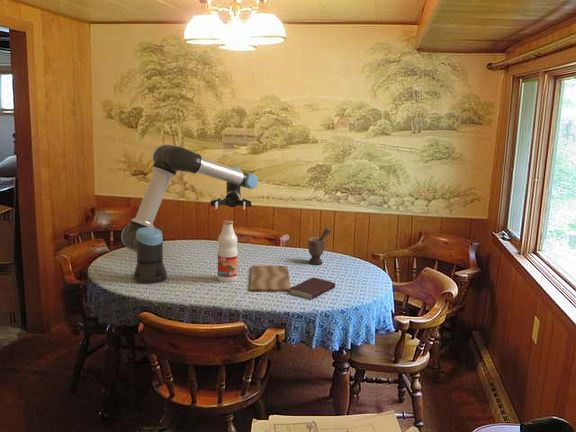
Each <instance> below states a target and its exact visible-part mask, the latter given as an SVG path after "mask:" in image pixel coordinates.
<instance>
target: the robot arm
mask: <svg viewBox="0 0 576 432" xmlns="http://www.w3.org/2000/svg"><path fill="white" fill-rule="evenodd" d="M152 160H153V164H152V170H153V173H152V175H151V178H150V180H149V183H148V185H147V188H146V191H145V193H144V196H143V198H142V200H141V203H140V205H139V208H138V211H137V213H136V216H135V217H134V218H132V219H130V222H129V224H128V225H127V226H125V227H124V228H123V230H122V231H121V235H120V236H121V238H120V239H121V241H122V244H123V245H124V246H125V247H126V248H127V249H129V250H131V251H133V252H134V253H136V267H135V269H134V273H133V280H136V281H138V282H137V283H139V282H144V283H143V284H157V283H161V282H164V281H165V279H166V280H167V279H168V272H167V269H166V266H165V264H164V260H163V259H164V257H163V256H164V255H163V254H164V253H163V252H164V249H163V248H164V247H163V245H164V244H163V241H164V238H163V233H162V230H160V229H159V228H157V227H155V225H154V222H155V219H156V216H157V214H158V211H159V209H160V206H161V205H162V201H163V199H164V197H165V194H166V191H167V189H168V186H169V183H170V181H171V179H172V178H174V177H175V176H176V174H177V172H186V173H191V174H197V173H198V174H201V175H203V176H204V175H205V176H206V177H207V176H208V177H210V178H213V179H217V180H221V181H223V182H226V187H225V188H226V191H225V192H226V195H225V198H223V199H222V198H220V197H218V198H216V199H213V200H210V207H213V209H215V210H217V209H218V206H219V207H220V206H227V207H229V208H235V207H239V206H241V207H242V208H243V210H246V208H249V207H252V200H249V199H246V198H241V194H242V193H241V188H246V189H255V188H256V187H257V185H258V183H259V179H258V176H257V175H255V174H253V173H248V172H246V171H242V170H241V168H240V166H227V165H225V164H222V163H219V162H216V161H213V160H211V159H208V158H204V157H202V155H201V154H199V153H196V152H194V151H191V150H189V149H187V148H185V147H182V146H178V145H171V144H161V145H160V146H157V147H156V148H155V150H154V152H153V153H152ZM136 281H135V282H136Z"/></svg>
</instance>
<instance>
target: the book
mask: <svg viewBox="0 0 576 432" xmlns="http://www.w3.org/2000/svg"><path fill="white" fill-rule="evenodd" d="M333 288H334V289H336V283H335V282H332V281H329V280H327V279H321V278H318V277H311V278H308V279H306V280H305V281H302V282H300V283H298V284H296V285H293V286H292V287H291V288H290V292H289V293H291V294H290V295H294V294H295V296H298V295H299V296H298V297H302V296H303V297H302V298H306V297H307V299H310V298H312V299H311V300H314V299H317V298H318V297H320V296H322V295H324V294H326V293H328V292H329V290H330V291H332V290H334V289H333ZM331 289H332V290H331ZM327 291H328V292H327ZM325 292H326V293H325ZM323 293H324V294H323ZM321 294H322V295H321Z"/></svg>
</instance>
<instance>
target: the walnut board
mask: <svg viewBox="0 0 576 432" xmlns="http://www.w3.org/2000/svg"><path fill="white" fill-rule="evenodd" d="M290 288H291V280H290V274H289V268H288V265H251V275H250V290H249V291H250V292H252V293H253V292H255V293H256V292H257V293H259V292H260V293H262V292H263V293H264V292H268V293H269V292H270V293H274V292H275V293H278V292H280V293H282V292H283V293H290Z"/></svg>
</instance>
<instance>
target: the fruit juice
mask: <svg viewBox="0 0 576 432" xmlns="http://www.w3.org/2000/svg"><path fill="white" fill-rule="evenodd" d="M233 225H234V221H233V220H231V219H230V220H229V219H227V220H223V221H222V229H221V232H220V234H219V236H218V238H217V243H218V248H217V280H218V281H219V282H223V283H231V282H232V283H233V282H236V281H237V280H238V278H239V277H238V276H239V275H238V273H239V269H238V268H239V267H238V266H239V263H238V262H239V249H238V236H237V235H236V233H235V229H234V227H233Z"/></svg>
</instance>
